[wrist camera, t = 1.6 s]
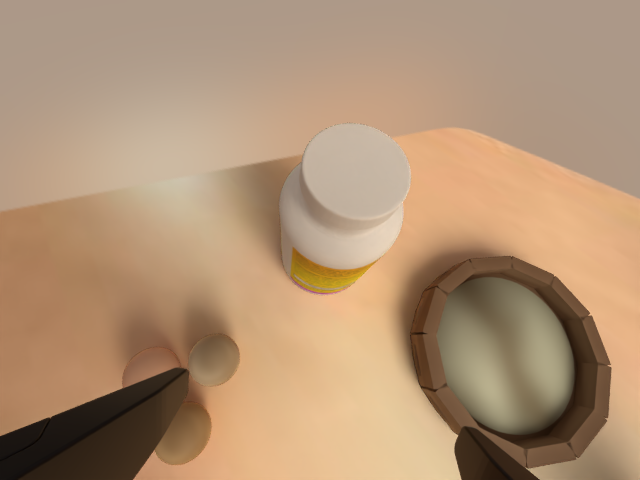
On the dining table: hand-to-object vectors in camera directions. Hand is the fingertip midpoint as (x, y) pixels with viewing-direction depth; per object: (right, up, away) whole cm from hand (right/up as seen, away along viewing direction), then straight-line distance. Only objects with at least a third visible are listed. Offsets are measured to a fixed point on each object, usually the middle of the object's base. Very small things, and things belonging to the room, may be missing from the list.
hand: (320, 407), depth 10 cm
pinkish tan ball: (-11, -3, +9) cm, 14 cm away
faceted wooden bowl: (+14, -3, +14) cm, 20 cm away
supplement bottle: (0, +4, +15) cm, 15 cm away
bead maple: (-7, -2, +10) cm, 12 cm away
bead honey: (-8, -6, +8) cm, 13 cm away
